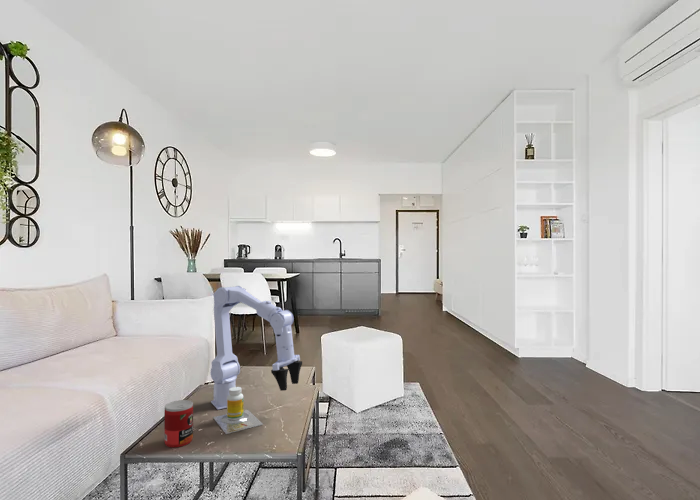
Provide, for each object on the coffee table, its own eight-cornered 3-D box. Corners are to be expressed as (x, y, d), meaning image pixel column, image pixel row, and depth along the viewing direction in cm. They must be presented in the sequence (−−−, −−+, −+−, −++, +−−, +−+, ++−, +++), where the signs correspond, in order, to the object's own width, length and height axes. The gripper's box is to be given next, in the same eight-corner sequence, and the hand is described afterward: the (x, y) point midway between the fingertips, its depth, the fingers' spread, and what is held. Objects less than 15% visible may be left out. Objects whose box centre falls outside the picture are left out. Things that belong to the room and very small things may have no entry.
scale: (213, 417, 131) (213, 416, 131) (247, 410, 138) (247, 408, 138) (226, 434, 118) (225, 432, 119) (263, 424, 125) (263, 423, 125)
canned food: (183, 449, 109) (183, 410, 110) (158, 447, 111) (158, 408, 111) (198, 436, 117) (198, 400, 117) (174, 435, 118) (174, 399, 119)
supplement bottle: (225, 416, 131) (225, 387, 132) (242, 413, 134) (241, 385, 134) (228, 422, 127) (228, 392, 127) (244, 418, 129) (244, 389, 129)
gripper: (283, 350, 123) (288, 393, 122) (305, 341, 137) (309, 380, 135) (265, 351, 126) (269, 393, 125) (288, 342, 139) (292, 381, 138)
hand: (289, 386), depth 130 cm, fingers open, 7 cm apart
